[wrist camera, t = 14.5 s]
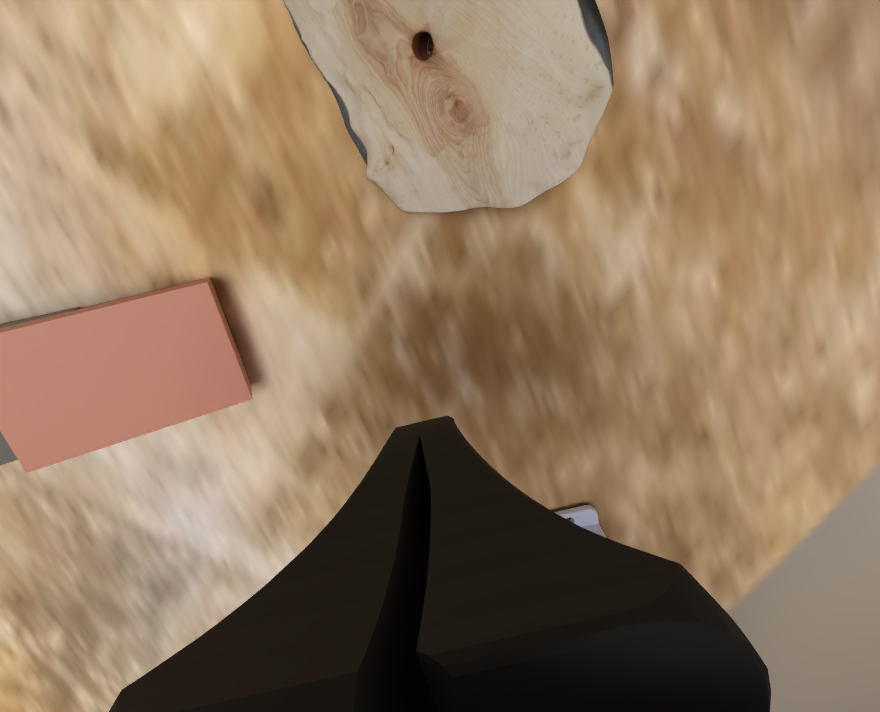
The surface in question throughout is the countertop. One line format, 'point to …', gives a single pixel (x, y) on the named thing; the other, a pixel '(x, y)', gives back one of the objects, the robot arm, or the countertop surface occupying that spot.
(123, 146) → the countertop surface
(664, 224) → the countertop surface
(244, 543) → the countertop surface
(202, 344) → the loose domino
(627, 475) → the countertop surface
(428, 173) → the wooden slab
